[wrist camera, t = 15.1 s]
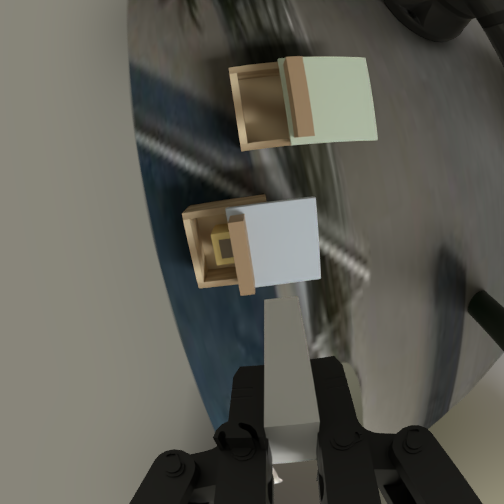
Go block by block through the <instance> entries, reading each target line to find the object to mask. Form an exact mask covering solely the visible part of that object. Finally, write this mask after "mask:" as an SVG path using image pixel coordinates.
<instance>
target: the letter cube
mask: <svg viewBox="0 0 504 504" xmlns="http://www.w3.org/2000/svg"><path fill="white" fill-rule="evenodd" d="M211 239H212V244H213V249H214V253H215V258H216V263H217V265H223V264H231V263H235V262H234V256H233V251H232V245H231V239H230V234H229V228H228V223H225V224H218V225H215V226H214V228H213V231H212V233H211Z"/></svg>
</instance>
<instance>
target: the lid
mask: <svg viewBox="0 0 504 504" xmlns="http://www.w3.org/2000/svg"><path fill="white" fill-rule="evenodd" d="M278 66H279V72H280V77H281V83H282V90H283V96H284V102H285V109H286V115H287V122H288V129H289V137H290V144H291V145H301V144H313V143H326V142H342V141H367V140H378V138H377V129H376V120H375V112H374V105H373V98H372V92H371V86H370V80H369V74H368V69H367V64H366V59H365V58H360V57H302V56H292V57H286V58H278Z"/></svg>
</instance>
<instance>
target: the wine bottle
mask: <svg viewBox="0 0 504 504" xmlns="http://www.w3.org/2000/svg"><path fill="white" fill-rule="evenodd" d="M468 312H469V314H470V315H471V316H472V317H473V318H474V319H475V320H476V321H477V322H478V323H479V324H480V326H481V327H482V328H483V329H484V330H485V331H486V332H487V333H488V334H489V335H490V336H491V337H492V339H493V340H494V341H495V342H496V343H497V344H498V345H499V347H500V348H501V349H502V350H503V351H504V308H503V307H502V306H501V305H500V304H499V303H498V302H497V301H496V300H495V299H493V298H492V297H491V296H490V295H489V294H488V293H487V292H485V291H480V292H478V293H477V294H476V295H475V296H474V297H473V298H472V300H471V301H470V304H469V307H468Z"/></svg>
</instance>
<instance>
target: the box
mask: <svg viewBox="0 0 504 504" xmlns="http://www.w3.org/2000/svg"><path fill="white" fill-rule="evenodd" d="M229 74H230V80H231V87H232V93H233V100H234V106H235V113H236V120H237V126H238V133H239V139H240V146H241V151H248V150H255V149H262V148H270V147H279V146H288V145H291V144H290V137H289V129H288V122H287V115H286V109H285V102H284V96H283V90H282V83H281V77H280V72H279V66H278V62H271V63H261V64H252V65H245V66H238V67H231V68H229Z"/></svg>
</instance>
